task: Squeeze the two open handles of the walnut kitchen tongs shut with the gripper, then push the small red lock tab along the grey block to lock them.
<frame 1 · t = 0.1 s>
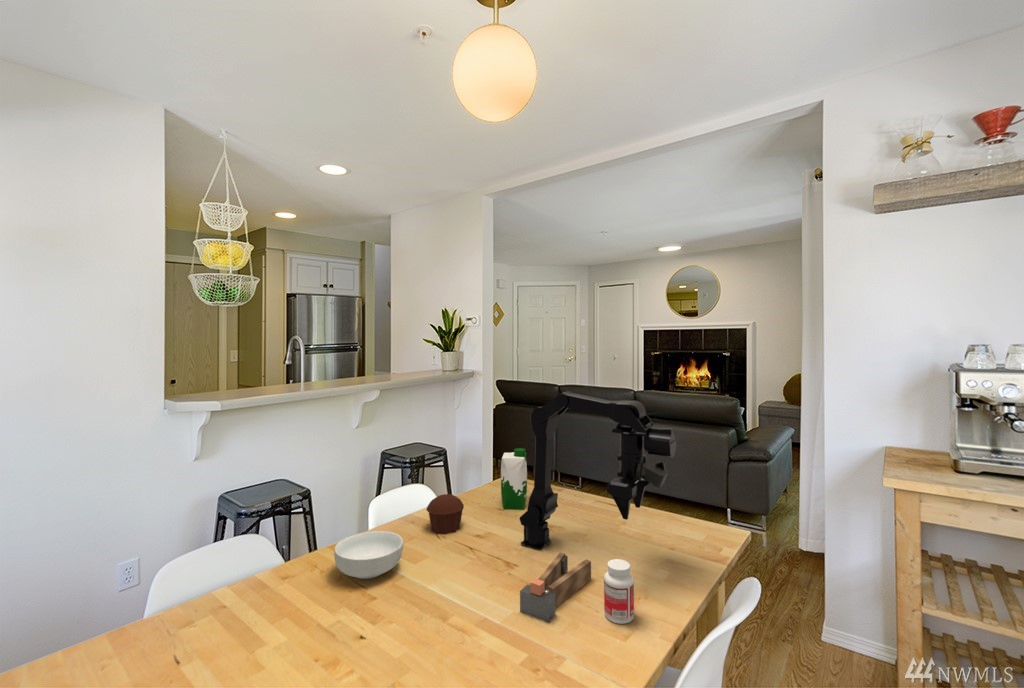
hand: (631, 513, 115), 15 cm above the table, fingers open, 9 cm apart
cereal bowl: (369, 571, 116), on the table
milk carton: (514, 506, 160), on the table
left tong arm: (552, 576, 108), point 2 cm above the table, hinge at 7.0°
right tong arm: (569, 582, 105), point 2 cm above the table, hinge at 7.0°
muffin: (445, 528, 141), on the table
lock tab: (537, 586, 97), point 6 cm above the table, slide at 0.0 cm
grey block: (537, 613, 97), on the table
pill bottle: (619, 616, 96), on the table
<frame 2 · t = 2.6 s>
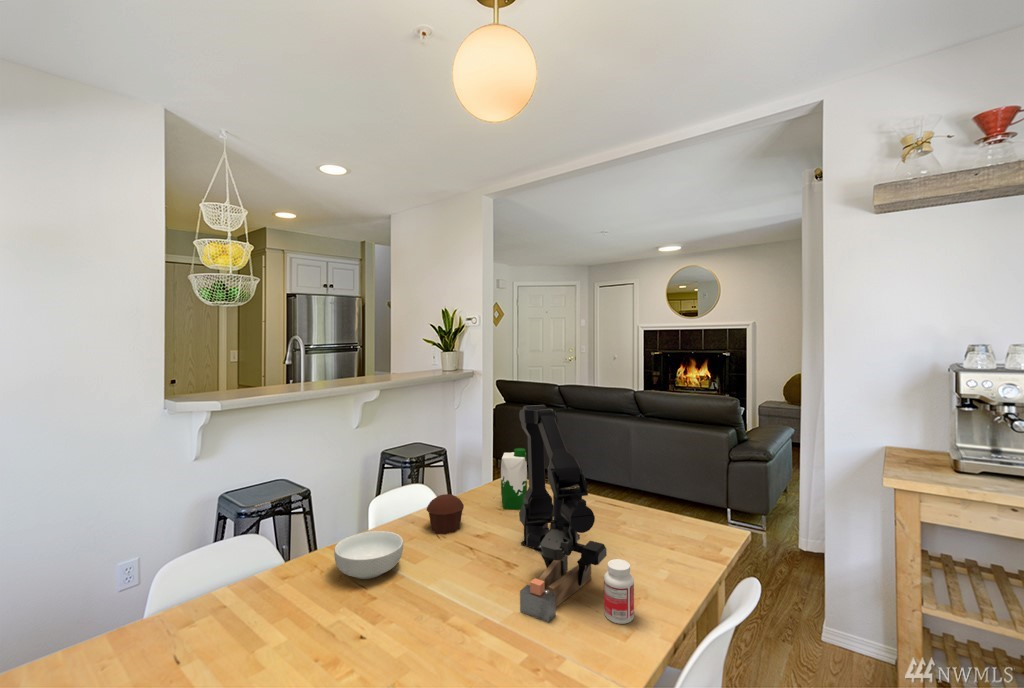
hand: (565, 580, 109), 1 cm above the table, fingers open, 7 cm apart
left tong arm: (552, 576, 108), point 2 cm above the table, hinge at 7.0°, touching gripper
right tong arm: (569, 582, 105), point 2 cm above the table, hinge at 7.0°, touching gripper
everything else where it was.
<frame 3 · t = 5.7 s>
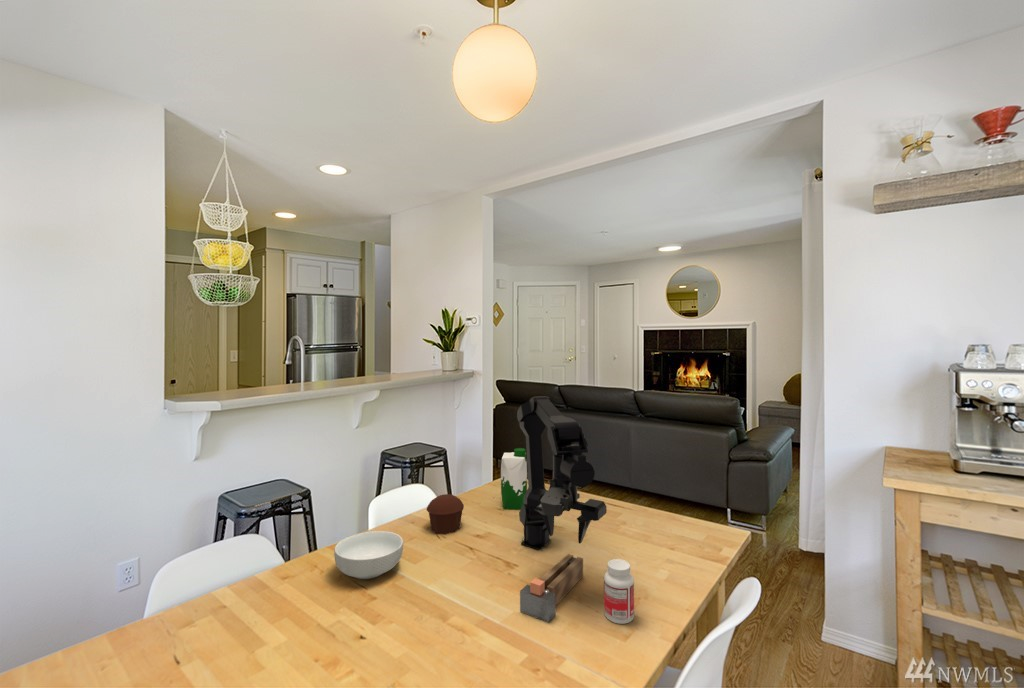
hand: (565, 539, 108), 11 cm above the table, fingers open, 7 cm apart
left tong arm: (556, 578, 107), point 2 cm above the table, hinge at -0.3°
right tong arm: (565, 580, 106), point 2 cm above the table, hinge at -0.4°
everything else where it was.
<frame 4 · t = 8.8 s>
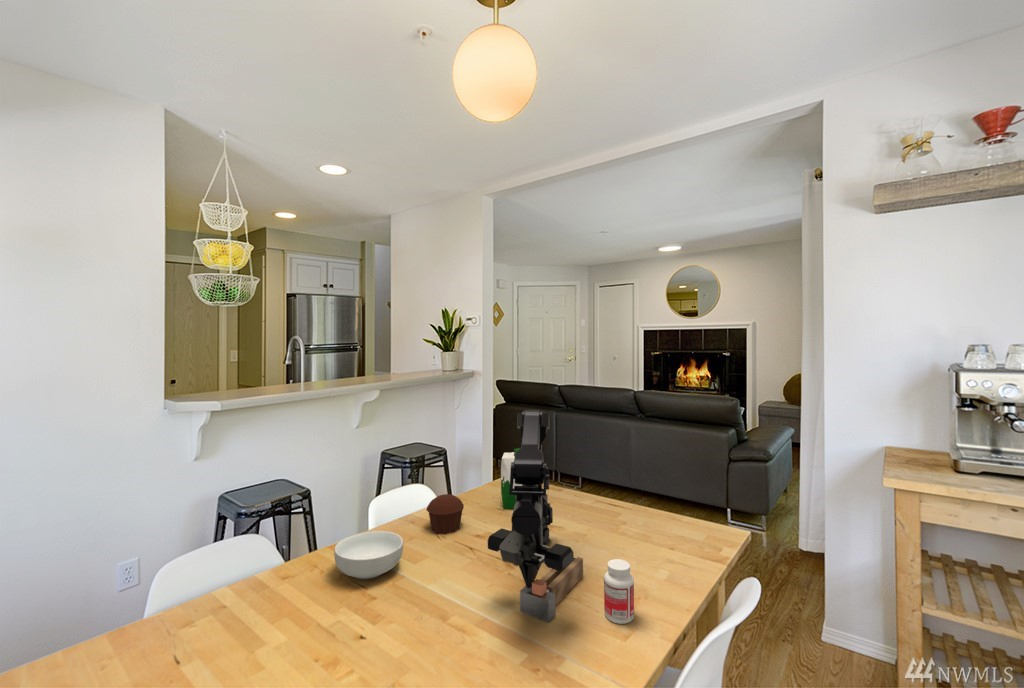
hand: (529, 587, 98), 5 cm above the table, fingers closed
lock tab: (539, 587, 97), point 6 cm above the table, slide at 0.5 cm, touching gripper
everything else where it was.
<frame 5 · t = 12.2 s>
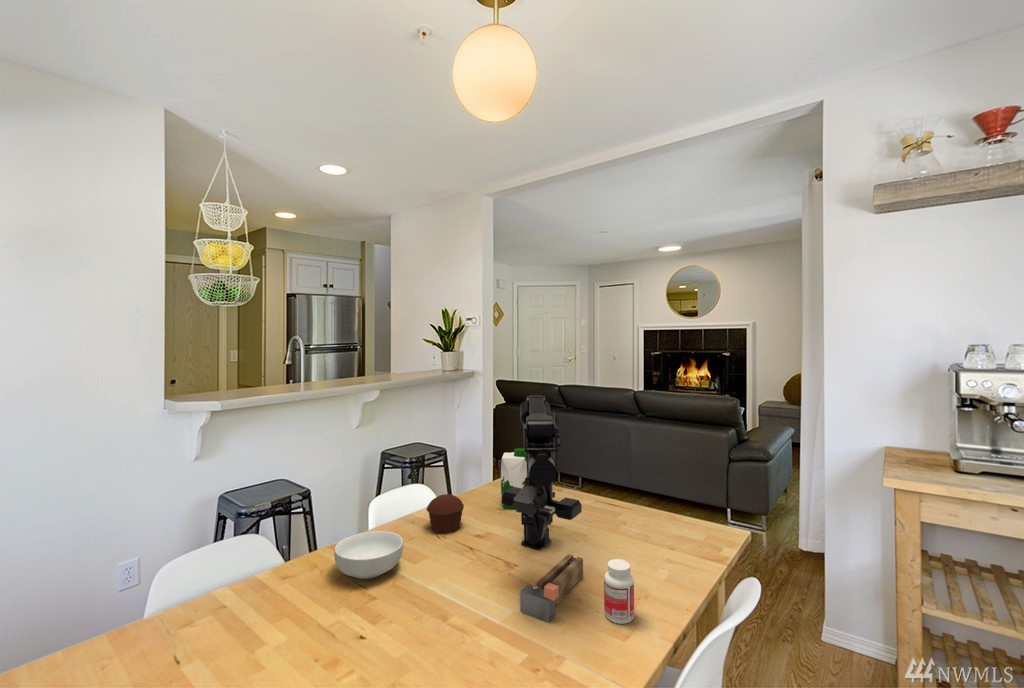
hand: (540, 538, 107), 12 cm above the table, fingers closed
lock tab: (551, 591, 96), point 6 cm above the table, slide at 3.4 cm
everything else where it was.
at the end: left tong arm at +0° (first picture: +7°); right tong arm at +0° (first picture: +7°); lock tab slide at 3.4 cm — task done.
